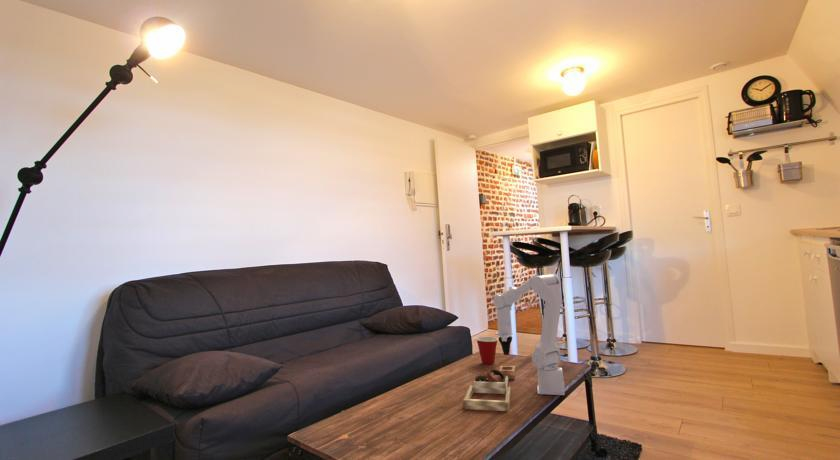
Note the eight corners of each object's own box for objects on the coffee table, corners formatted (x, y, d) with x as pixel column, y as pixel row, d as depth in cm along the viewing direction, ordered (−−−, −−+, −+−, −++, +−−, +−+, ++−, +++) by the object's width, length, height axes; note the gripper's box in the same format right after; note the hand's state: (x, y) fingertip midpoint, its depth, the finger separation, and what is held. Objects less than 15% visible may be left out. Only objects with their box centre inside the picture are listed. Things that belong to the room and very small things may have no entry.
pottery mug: (492, 383, 160) (500, 367, 158) (503, 401, 152) (512, 384, 150) (467, 382, 155) (475, 365, 153) (477, 399, 147) (486, 382, 145)
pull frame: (515, 374, 168) (514, 364, 168) (513, 394, 146) (512, 383, 146) (481, 373, 172) (480, 364, 172) (473, 392, 150) (473, 382, 150)
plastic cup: (504, 363, 185) (503, 337, 186) (487, 367, 180) (485, 341, 180) (489, 358, 195) (488, 334, 195) (472, 362, 189) (471, 337, 190)
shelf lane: (510, 393, 147) (510, 385, 148) (508, 411, 132) (508, 402, 132) (470, 391, 152) (469, 383, 152) (463, 408, 136) (463, 400, 136)
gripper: (496, 319, 175) (498, 349, 175) (493, 326, 161) (495, 359, 161) (512, 319, 173) (514, 350, 173) (510, 325, 159) (513, 359, 159)
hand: (506, 354), depth 167 cm, fingers closed
